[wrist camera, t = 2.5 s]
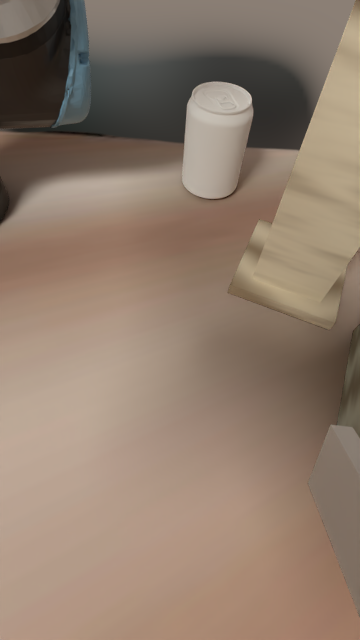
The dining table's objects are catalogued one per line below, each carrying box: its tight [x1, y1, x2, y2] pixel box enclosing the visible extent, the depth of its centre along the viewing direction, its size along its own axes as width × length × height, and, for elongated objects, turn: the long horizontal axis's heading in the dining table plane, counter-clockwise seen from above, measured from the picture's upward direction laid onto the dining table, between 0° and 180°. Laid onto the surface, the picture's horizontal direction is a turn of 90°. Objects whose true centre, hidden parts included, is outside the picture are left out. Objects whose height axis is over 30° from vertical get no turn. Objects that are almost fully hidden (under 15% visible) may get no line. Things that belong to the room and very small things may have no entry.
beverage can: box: [182, 82, 253, 199], centre depth 45 cm, size 8×8×12 cm
